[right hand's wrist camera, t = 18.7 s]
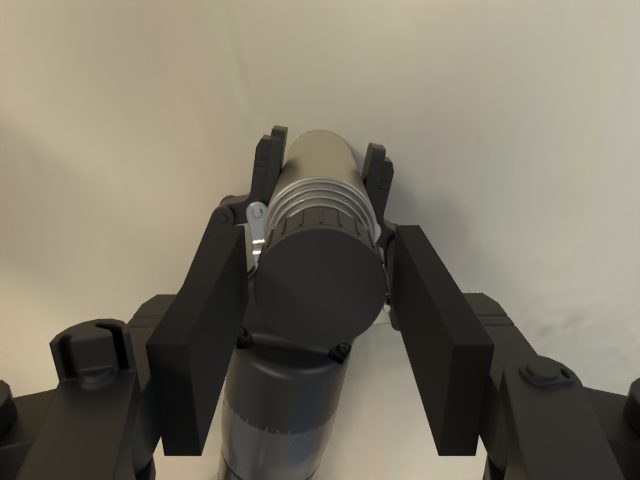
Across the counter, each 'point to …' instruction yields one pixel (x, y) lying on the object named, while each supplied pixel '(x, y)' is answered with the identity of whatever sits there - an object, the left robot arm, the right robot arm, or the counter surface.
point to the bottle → (319, 182)
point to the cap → (320, 278)
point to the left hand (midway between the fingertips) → (328, 138)
